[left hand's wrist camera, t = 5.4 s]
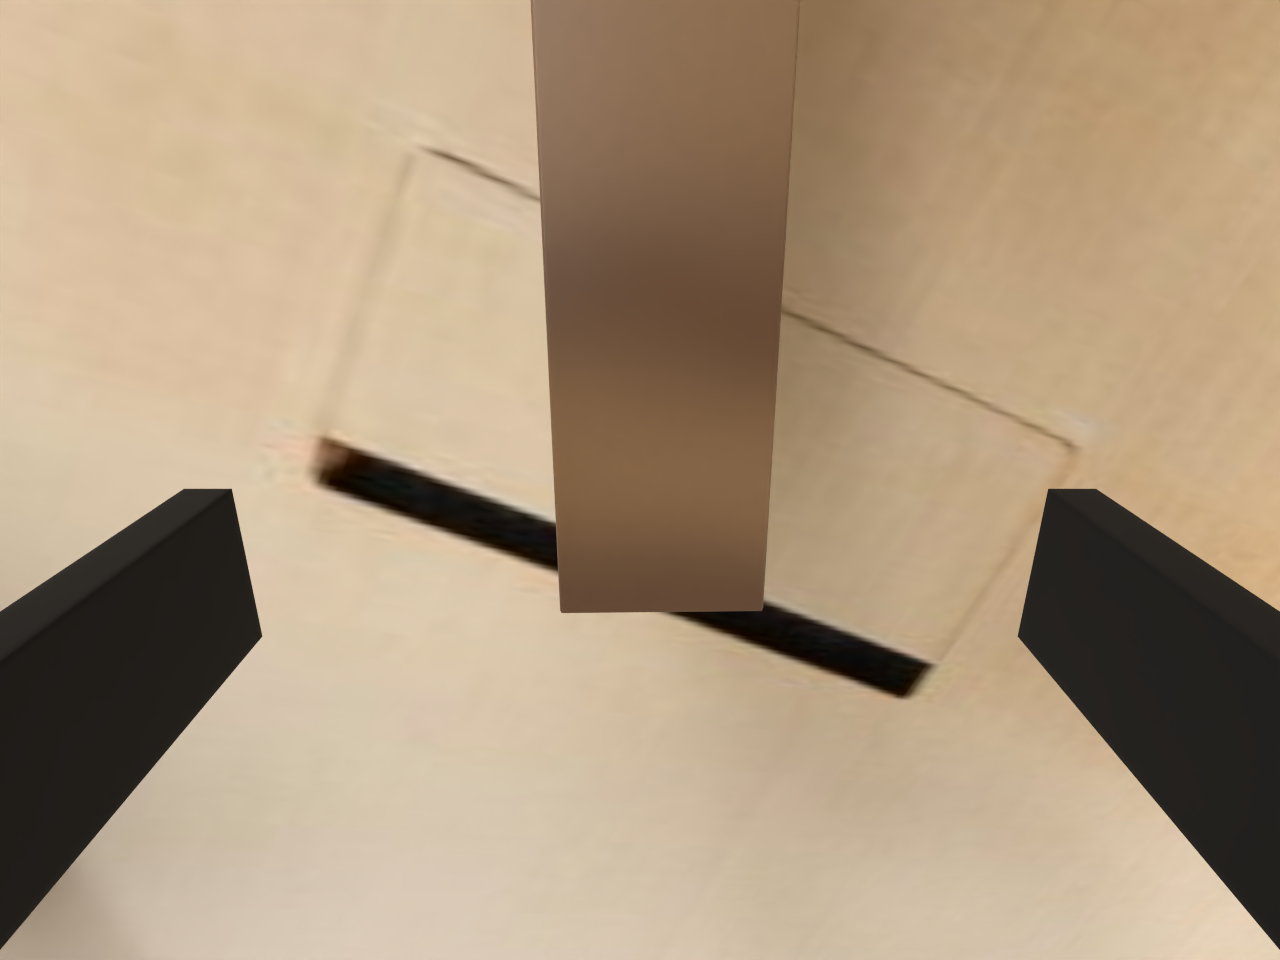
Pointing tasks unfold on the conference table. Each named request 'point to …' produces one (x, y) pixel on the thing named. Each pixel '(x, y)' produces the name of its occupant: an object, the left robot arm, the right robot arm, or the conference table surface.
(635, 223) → the bar
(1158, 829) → the conference table surface
